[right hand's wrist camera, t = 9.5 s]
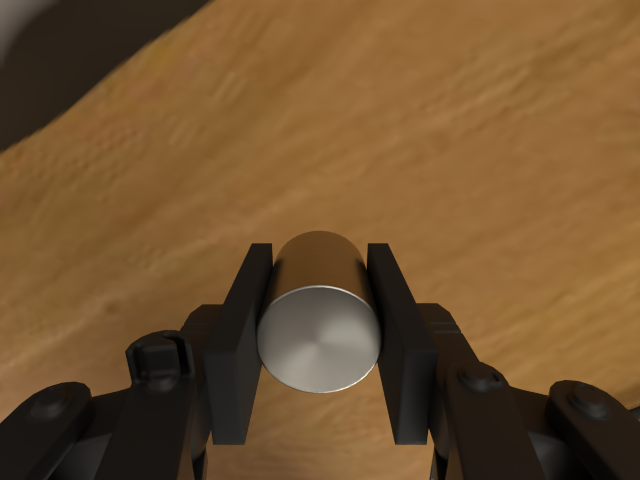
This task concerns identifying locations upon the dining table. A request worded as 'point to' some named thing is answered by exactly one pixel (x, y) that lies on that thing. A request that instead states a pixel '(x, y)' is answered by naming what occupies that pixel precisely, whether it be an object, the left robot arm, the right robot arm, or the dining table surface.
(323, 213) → the dining table surface
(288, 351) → the canister
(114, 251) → the dining table surface
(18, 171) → the dining table surface
